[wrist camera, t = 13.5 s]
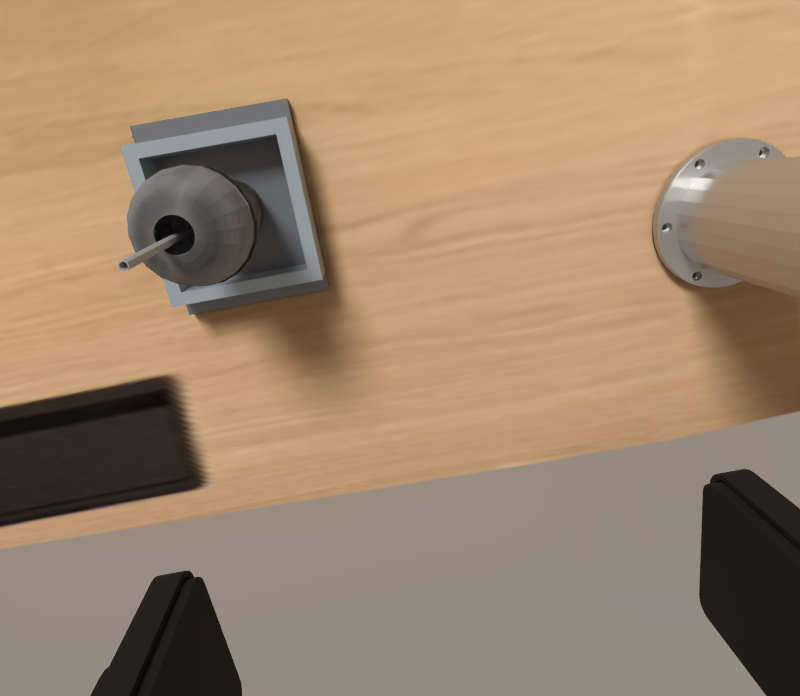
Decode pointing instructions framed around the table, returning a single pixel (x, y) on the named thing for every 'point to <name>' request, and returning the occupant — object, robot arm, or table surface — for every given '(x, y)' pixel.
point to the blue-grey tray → (260, 169)
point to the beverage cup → (193, 225)
